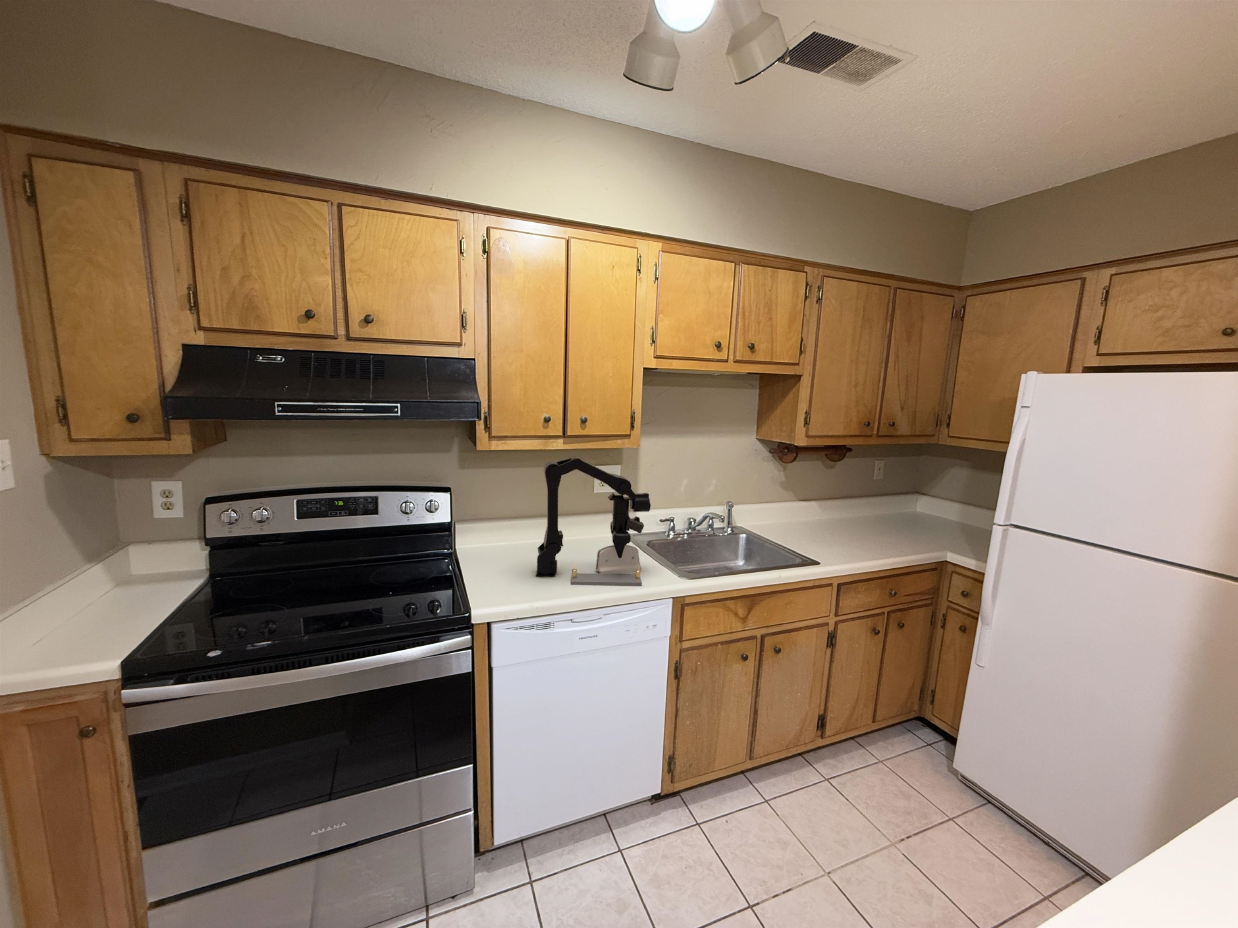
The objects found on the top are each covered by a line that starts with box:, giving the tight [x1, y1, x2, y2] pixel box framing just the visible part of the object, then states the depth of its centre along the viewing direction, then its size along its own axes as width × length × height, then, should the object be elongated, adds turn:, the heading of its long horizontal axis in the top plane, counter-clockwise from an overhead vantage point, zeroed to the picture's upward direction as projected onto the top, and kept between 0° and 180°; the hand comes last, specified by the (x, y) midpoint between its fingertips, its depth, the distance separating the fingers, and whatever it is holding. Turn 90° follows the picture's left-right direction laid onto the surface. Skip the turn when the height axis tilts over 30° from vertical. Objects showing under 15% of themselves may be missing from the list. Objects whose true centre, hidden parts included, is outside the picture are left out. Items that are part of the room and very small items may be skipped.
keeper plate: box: [570, 568, 643, 587], centre depth 173 cm, size 24×8×4 cm, turn 94°
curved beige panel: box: [595, 544, 642, 574], centre depth 183 cm, size 17×5×10 cm, turn 112°
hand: (619, 553), depth 182 cm, fingers open, 9 cm apart
